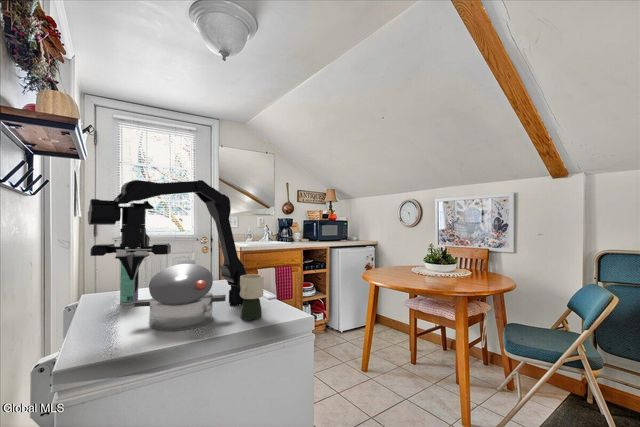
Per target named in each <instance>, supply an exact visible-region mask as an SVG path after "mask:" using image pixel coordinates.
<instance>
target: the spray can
mask: <svg viewBox="0 0 640 427" xmlns="http://www.w3.org/2000/svg"><path fill="white" fill-rule="evenodd" d="M127 248H131V247H127ZM130 254H133V256H135V255H136V254H135V252H131V253H130ZM132 260H133V259H132ZM139 269H140V268H139ZM139 269H138V272H137V274H136V277H135V279H134V280H130V278H129V276H128V274H127V272H126V270H125V268H124V266H123V264H122V263H121V262H120V277H119V278H120V279H119V280H120V283H119V284H120V288H119V290H120V291H119V305H121V306H130V305H134V303H135V302H136V301H137V300H139V273H140V270H139Z"/></svg>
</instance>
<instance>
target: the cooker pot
mask: <svg viewBox="0 0 640 427" xmlns="http://www.w3.org/2000/svg"><path fill="white" fill-rule="evenodd" d="M226 298H227V297H226V294H219V295H213V293H212V292H210V291H209V292H208V293H207V294H206V295H205V296H203V297H202V298H200V299H198V300H196V301H194V302H191V303H187V304H182V305H167V304H163V303H160V302H158V301H156V300H155V299H153V298H152V297H151V298H150V299H149V298H148V299H138V300H137V301H136V302H135V303H134V304H133V305H134V306H133V307H134V308H139V307H140V308H141V307H149V318H148V319H149V323H148V324H149V325H148V326H149V328H150V329H152V330H153V331H158V332H159V331H160V332H180V331H187V330H192V329H196V328H199V327H202V326H204V325H206V324H207V325H208V324H209V323H210V322H211V321H212V319H213V303H217V302H218V303H219V302H226Z"/></svg>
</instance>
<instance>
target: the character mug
mask: <svg viewBox="0 0 640 427" xmlns="http://www.w3.org/2000/svg"><path fill="white" fill-rule="evenodd" d="M264 281H265V280H264V275H262V274H255V273H251V274H250V273H249V274H247V275H242V276H240V288H241V291H240V296H241V297H242V298H244V301H243V304H242V305H241V312H240V319H242V320H248V321H249V320H257V319H260V318H262V315H263V314H262V306H261V305H262V304H261V300H260V298H262V297H263V296H264Z"/></svg>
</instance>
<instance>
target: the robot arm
mask: <svg viewBox="0 0 640 427" xmlns="http://www.w3.org/2000/svg"><path fill="white" fill-rule="evenodd" d="M188 193H189V194H191V193H194V194H195V195H196V196H197V197H198V198H199V199H200V200H201V202H203V203H204V204H205V206H206V208H207V211H208V213H209V215H210V216H211V218H212V219H213V220H214V222H215V227H216V231H217V235H218V238H219V243H220V247H221V251H222V255H223V265H219V269H220V271H221V277H223V278H224V280H225V281H226V282H227V285H229V286H230V289H229V290H228V303H229V305H230V306H231V307H232V306H242V304H243V301H244V298H242V297H241V296H240V291H241V288H240V276H242V275H248V274H247V273H248V272H247V271H246V269H245V266H244V264H243V263H242V261H241V260H240V258H239V255H238V252H237V247H236V244H235V243H236V242H235V238H234V234H233V231H232V226H231V222H230V215H231V211H232V209H231V199H230V198H229V196H227V195H226V194H223V193H221V192H220V191H219V190H217V189H215V188H214V187H212V186H211V185H209V184H208V183H207V182H206V181H205V180H202V179H199V180H191V181H174V182H173V181H171V182H154V181H149V180H140V179H139V180H138V179H134V180H131V181H128V182H125V183H123V185H122V186H121V189H120V193H119V194H118V195H117V196H116V197H115V198H114V199H113V200H107V199H106V200H105V199H103V200H102V199H97V198H91V199H90V201H89V206H88V212H87V222H88V225H89V226H102V225H103V226H104V225H105V226H115V225H116V223H117V222H120V220H121V228H120V231H119V232H120V233H121V238H120V239H121V240H120V241H121V243H120V244H119V246H118V245H115V243H100V244H99V243H98V244H94V245H92V246H91V248H90V254H89V255H90V257H98V256H99V257H100V256H101V257H102V256H103V257H104V256H105V255H106V254H113V253H114V254H115V255H116V256H114V259H117V260H119V262H120V264H121V263H122V264H123V266H124V268H125V270H126V272H127V274H128V276H129V278H130V280H134V279H135V277H136V274H137V272H138V269H140V268H141V264H142V262H143V261H144V259H146V258H147V257H149V256H150V253H152V254H153V255H155V256H156V255H169V254H171V253H172V245H171V244H170V243H169V242H167V243H166V242H165V243H157V242H156V243H153V244H152V245H150V239H151V237H150V236H149V235H148V234H147V229H146V217H147V216H146V210H154V208H155V207H154V206H153V205H152V204H150V202H149V201H148V200H146V199H151V198H154V197H158V196H166V195H167V196H168V195H180V194H188ZM143 200H145V201H144V202H142V203H141V202H139V203H138V201H143ZM136 202H137V203H136ZM129 203H130V206H125V205H126V204H129ZM119 205H120V206H119ZM121 205H124V206H121ZM128 247H131V248H128ZM131 252H135V254H136V255H135V256H133V254H130V253H131ZM132 259H133V260H132Z"/></svg>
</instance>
